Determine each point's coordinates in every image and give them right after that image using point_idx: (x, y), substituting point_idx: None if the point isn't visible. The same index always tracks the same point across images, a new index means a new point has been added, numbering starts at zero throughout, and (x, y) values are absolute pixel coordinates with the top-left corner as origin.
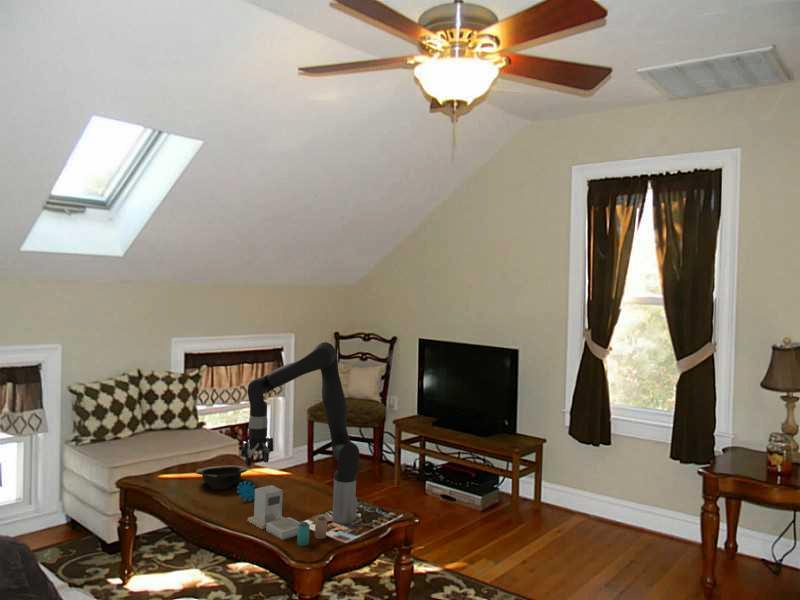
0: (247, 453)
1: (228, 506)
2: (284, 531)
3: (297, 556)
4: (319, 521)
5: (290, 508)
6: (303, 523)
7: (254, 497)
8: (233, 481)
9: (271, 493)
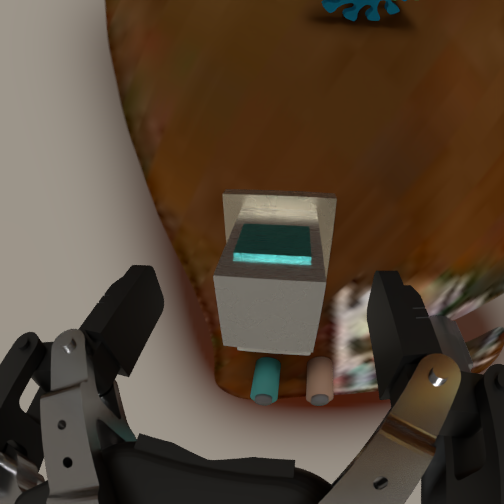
0: (68, 375)
1: (241, 12)
2: (244, 350)
3: (226, 382)
4: (307, 400)
5: (421, 186)
6: (261, 402)
7: (375, 15)
8: None
9: (253, 345)
